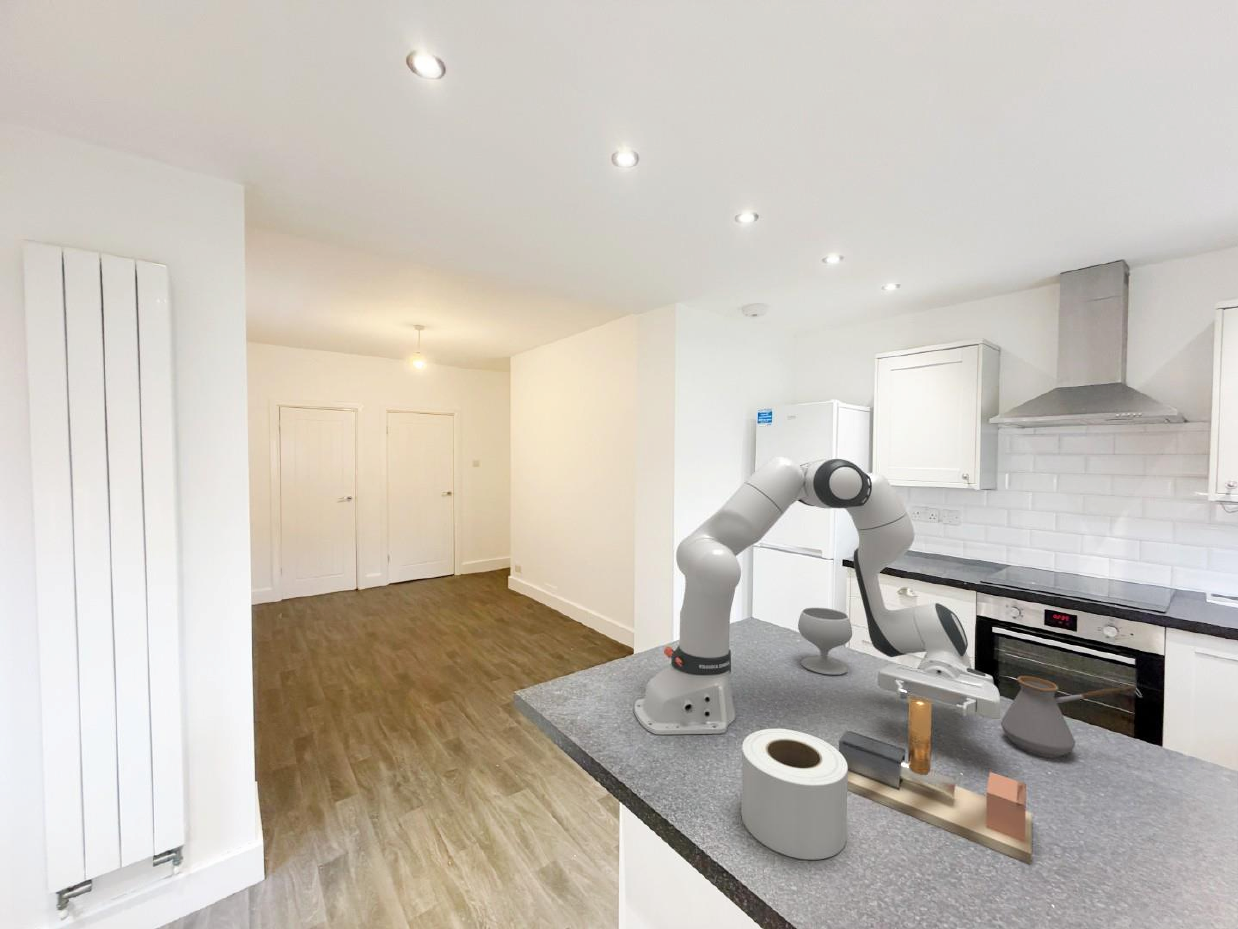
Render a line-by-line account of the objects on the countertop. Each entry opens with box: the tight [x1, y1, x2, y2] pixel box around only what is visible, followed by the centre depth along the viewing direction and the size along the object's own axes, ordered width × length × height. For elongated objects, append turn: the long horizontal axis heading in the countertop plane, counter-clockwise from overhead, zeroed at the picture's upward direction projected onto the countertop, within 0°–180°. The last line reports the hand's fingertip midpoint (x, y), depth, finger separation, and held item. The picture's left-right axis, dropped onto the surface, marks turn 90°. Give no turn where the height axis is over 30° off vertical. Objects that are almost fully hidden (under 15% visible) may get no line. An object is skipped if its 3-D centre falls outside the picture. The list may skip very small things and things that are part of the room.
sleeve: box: [838, 729, 906, 790], centre depth 88 cm, size 10×5×5 cm, turn 50°
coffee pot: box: [1000, 675, 1143, 758], centre depth 98 cm, size 21×12×15 cm, turn 67°
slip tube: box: [900, 696, 957, 799], centre depth 85 cm, size 16×3×14 cm, turn 50°
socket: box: [986, 771, 1027, 842], centre depth 76 cm, size 4×7×5 cm
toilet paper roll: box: [740, 728, 848, 861], centre depth 77 cm, size 16×15×11 cm
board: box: [847, 771, 1032, 865], centre depth 82 cm, size 27×11×2 cm, turn 50°
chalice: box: [797, 607, 853, 676], centre depth 138 cm, size 14×14×15 cm
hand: (930, 703), depth 92 cm, fingers open, 8 cm apart
